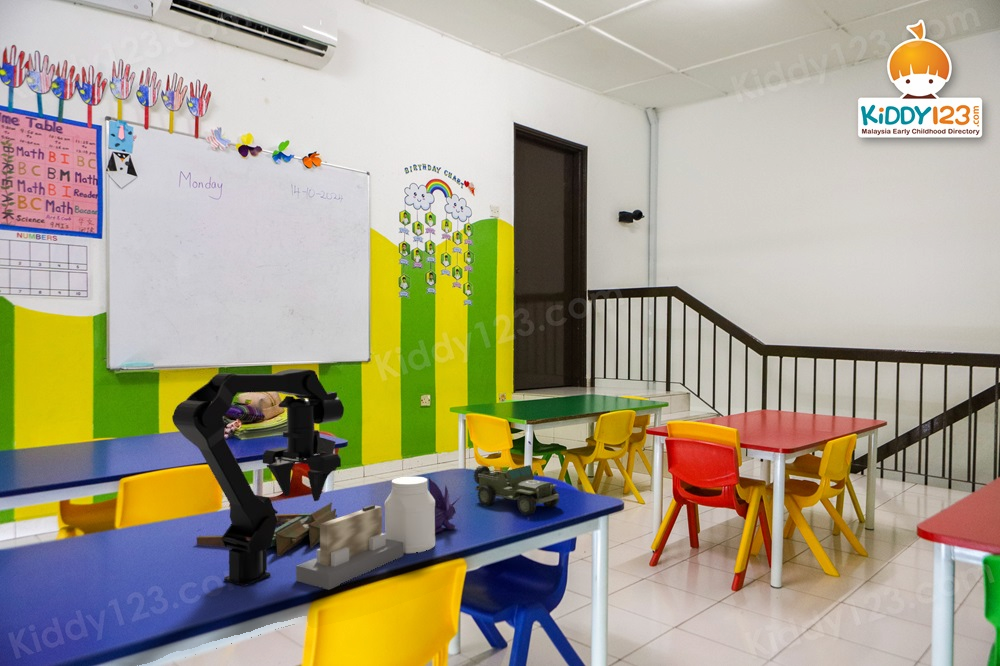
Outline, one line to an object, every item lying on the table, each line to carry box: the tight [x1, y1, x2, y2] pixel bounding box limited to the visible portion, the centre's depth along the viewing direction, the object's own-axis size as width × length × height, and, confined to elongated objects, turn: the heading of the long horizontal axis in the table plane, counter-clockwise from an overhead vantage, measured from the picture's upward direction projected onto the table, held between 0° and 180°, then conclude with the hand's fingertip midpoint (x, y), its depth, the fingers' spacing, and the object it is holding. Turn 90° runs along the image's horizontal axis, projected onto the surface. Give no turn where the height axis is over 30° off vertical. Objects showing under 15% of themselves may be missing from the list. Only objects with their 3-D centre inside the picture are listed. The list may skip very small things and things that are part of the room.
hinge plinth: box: [295, 532, 404, 591], centre depth 138 cm, size 22×9×6 cm, turn 149°
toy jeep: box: [473, 464, 560, 516], centre depth 187 cm, size 12×25×11 cm, turn 48°
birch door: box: [319, 504, 383, 566], centre depth 138 cm, size 16×2×9 cm, turn 149°
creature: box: [428, 476, 462, 534], centre depth 164 cm, size 9×18×12 cm, turn 134°
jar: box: [384, 476, 436, 554], centre depth 152 cm, size 12×10×15 cm
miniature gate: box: [196, 502, 338, 557], centre depth 160 cm, size 27×6×30 cm
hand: (301, 498), depth 144 cm, fingers open, 9 cm apart
